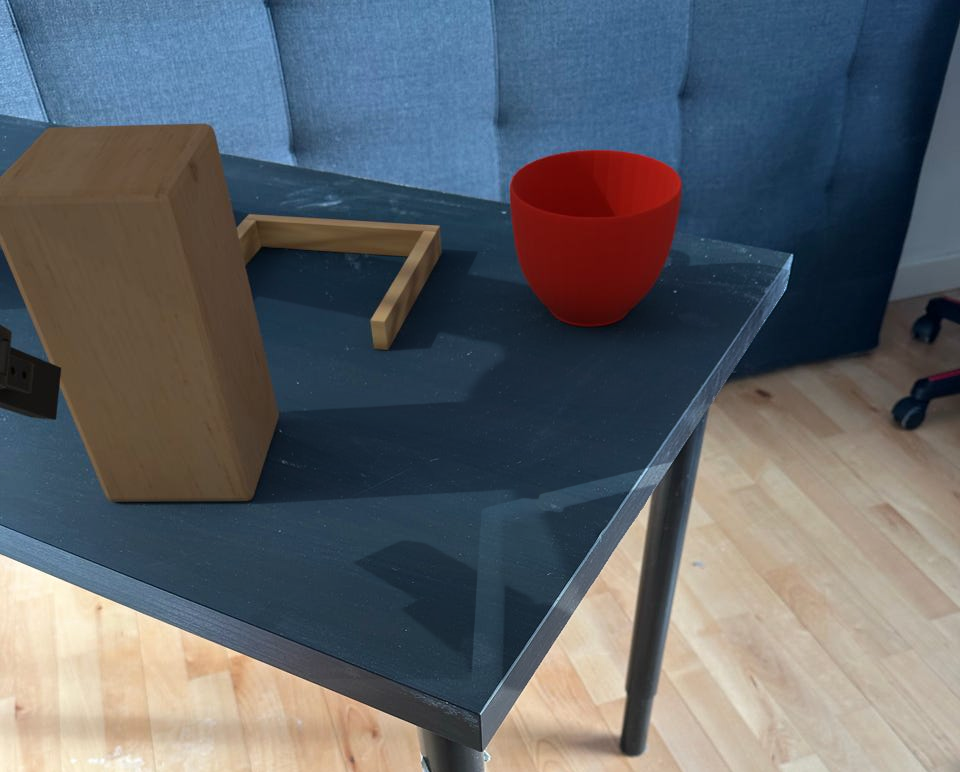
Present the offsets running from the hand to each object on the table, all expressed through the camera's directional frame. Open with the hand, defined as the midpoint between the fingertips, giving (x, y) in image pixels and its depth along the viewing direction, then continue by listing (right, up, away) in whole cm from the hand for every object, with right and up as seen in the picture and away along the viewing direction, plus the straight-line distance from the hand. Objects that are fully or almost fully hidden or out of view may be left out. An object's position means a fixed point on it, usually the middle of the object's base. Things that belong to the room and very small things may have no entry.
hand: (45, 392), depth 49 cm
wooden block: (+3, 0, +17) cm, 17 cm away
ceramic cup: (+31, +16, +30) cm, 46 cm away
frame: (+8, +17, +32) cm, 37 cm away
